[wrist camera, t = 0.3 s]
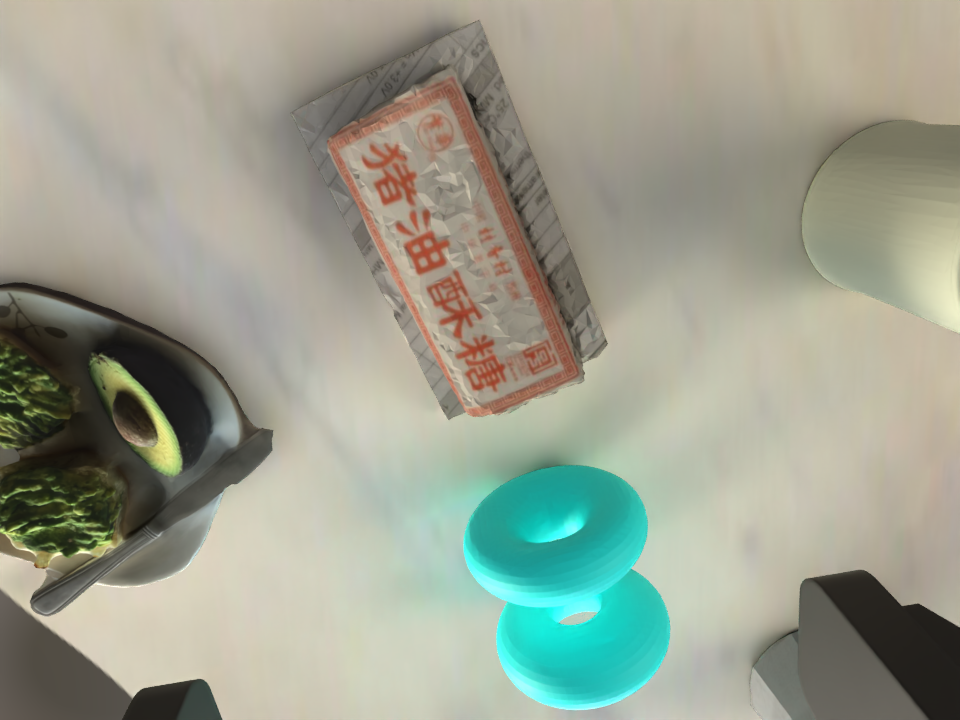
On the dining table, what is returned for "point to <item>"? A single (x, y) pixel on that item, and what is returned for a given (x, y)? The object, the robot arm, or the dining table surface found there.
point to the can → (891, 218)
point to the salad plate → (109, 445)
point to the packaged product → (456, 224)
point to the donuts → (569, 585)
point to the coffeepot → (779, 683)
